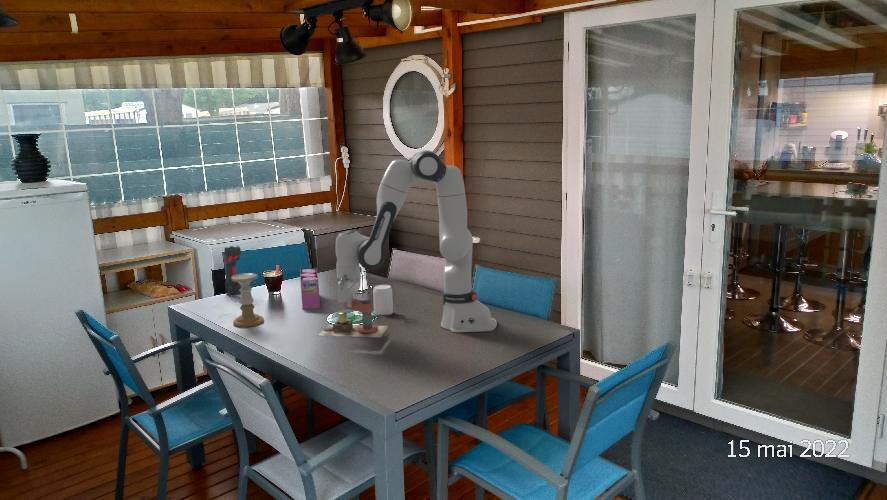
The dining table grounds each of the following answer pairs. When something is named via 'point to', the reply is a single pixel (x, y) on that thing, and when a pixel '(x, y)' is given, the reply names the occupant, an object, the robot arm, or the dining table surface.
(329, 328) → the slate pad
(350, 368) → the dining table surface
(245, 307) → the candle holder
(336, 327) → the brown box
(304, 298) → the gum box
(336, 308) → the dining table surface
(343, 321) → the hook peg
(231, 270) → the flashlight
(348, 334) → the board
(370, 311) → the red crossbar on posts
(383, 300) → the white tapered cylinder
